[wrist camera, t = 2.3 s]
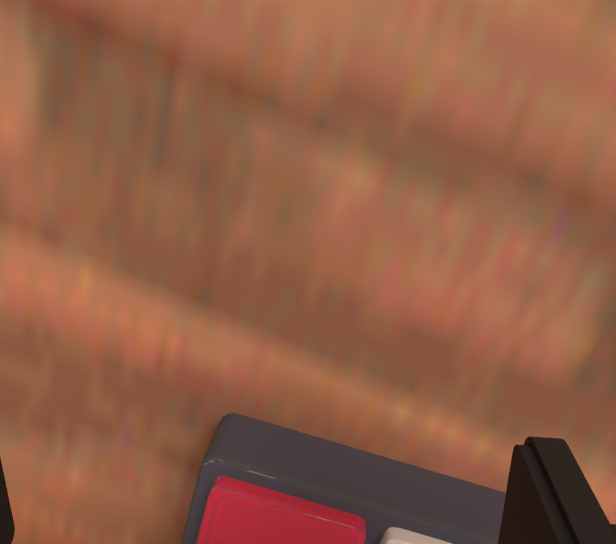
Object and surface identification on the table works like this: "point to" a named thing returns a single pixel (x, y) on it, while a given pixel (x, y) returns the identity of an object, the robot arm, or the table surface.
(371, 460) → the calculator
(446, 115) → the table surface
